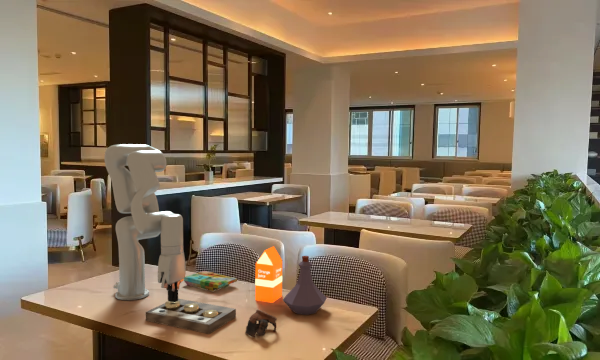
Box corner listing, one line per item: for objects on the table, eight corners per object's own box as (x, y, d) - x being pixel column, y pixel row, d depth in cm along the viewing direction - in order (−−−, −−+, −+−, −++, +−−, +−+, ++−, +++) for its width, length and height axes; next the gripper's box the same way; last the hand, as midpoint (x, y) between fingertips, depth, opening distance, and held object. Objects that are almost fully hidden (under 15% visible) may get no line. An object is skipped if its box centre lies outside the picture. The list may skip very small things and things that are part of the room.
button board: (145, 320, 160) (145, 311, 160) (175, 305, 175) (175, 297, 175) (209, 333, 150) (209, 323, 149) (235, 317, 164) (235, 307, 164)
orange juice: (254, 300, 182) (255, 249, 181) (265, 293, 190) (265, 245, 189) (273, 303, 179) (273, 251, 178) (282, 296, 187) (283, 246, 186)
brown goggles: (241, 330, 154) (252, 306, 156) (267, 341, 156) (277, 318, 158) (246, 335, 143) (257, 309, 145) (274, 347, 144) (284, 321, 146)
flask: (299, 299, 184) (300, 249, 182) (335, 308, 174) (336, 255, 172) (273, 311, 170) (273, 257, 169) (310, 322, 161) (311, 264, 159)
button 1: (162, 309, 164) (162, 303, 164) (171, 305, 169) (171, 299, 168) (173, 311, 162) (173, 305, 162) (182, 307, 167) (182, 301, 166)
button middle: (180, 313, 161) (180, 307, 161) (189, 308, 165) (189, 302, 165) (192, 315, 159) (192, 309, 159) (201, 310, 163) (201, 304, 163)
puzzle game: (203, 269, 210) (237, 276, 199) (203, 279, 210) (237, 287, 199) (183, 275, 200) (218, 283, 189) (183, 285, 200) (218, 294, 189)
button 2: (200, 319, 158) (200, 313, 157) (208, 315, 162) (208, 308, 162) (212, 322, 156) (212, 315, 155) (220, 317, 160) (220, 311, 160)
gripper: (177, 244, 172) (178, 293, 173) (148, 253, 158) (149, 306, 160) (194, 246, 169) (194, 296, 170) (166, 255, 155) (167, 309, 156)
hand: (173, 301), depth 165 cm, fingers closed
